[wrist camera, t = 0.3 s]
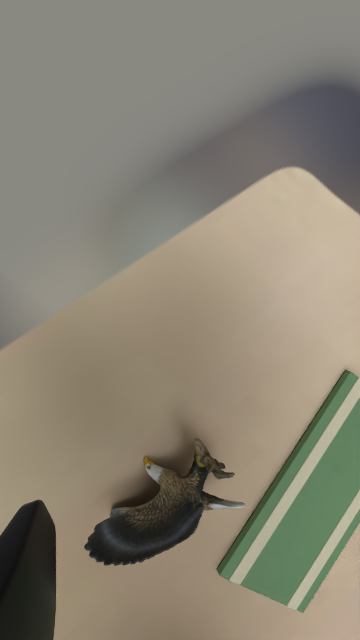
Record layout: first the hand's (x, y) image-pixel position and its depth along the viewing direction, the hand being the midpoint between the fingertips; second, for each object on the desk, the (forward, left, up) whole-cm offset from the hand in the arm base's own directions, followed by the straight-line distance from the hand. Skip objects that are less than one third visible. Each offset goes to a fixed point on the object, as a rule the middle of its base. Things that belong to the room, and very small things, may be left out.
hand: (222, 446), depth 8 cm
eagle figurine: (-8, -7, -15) cm, 18 cm away
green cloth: (-3, -21, -15) cm, 26 cm away
